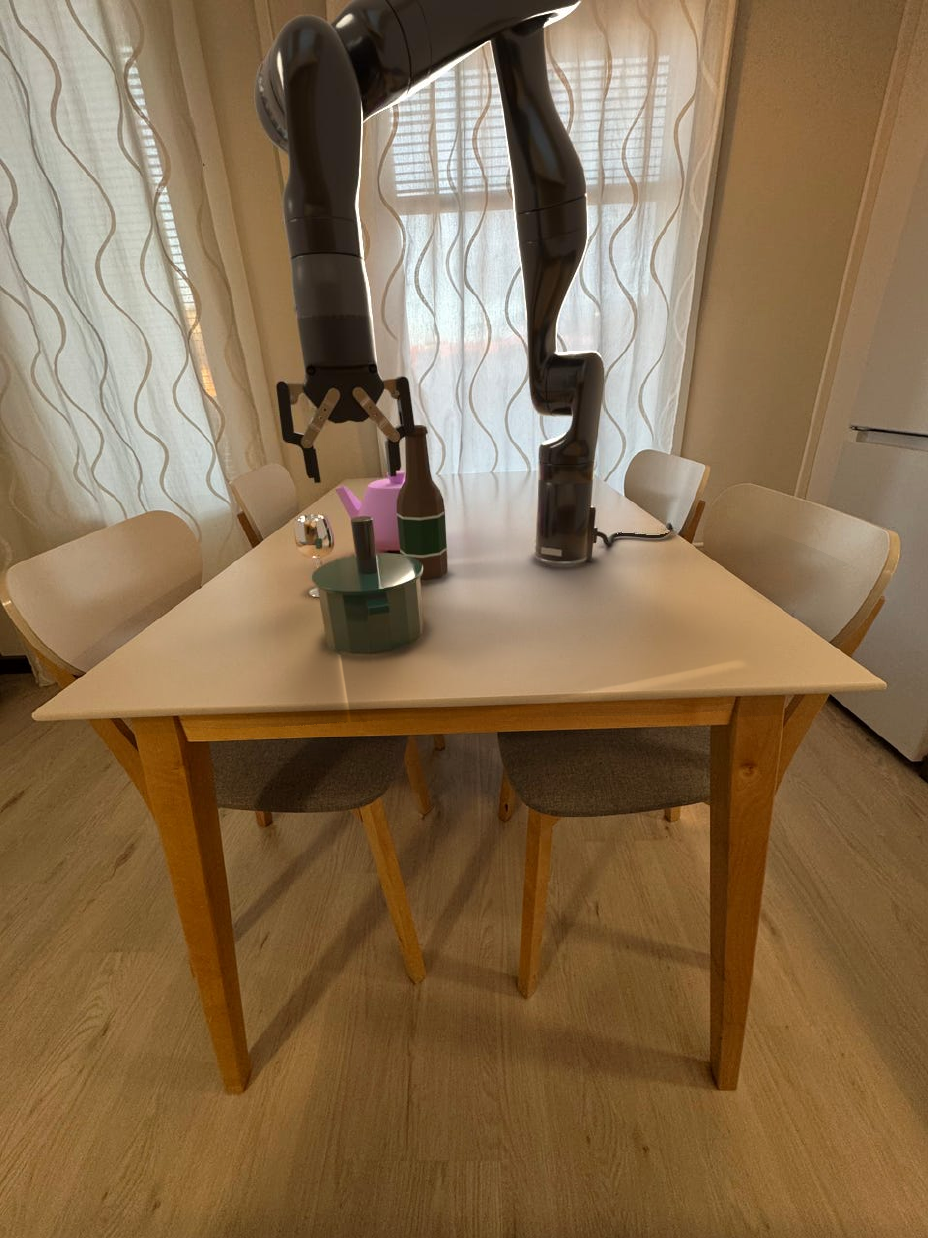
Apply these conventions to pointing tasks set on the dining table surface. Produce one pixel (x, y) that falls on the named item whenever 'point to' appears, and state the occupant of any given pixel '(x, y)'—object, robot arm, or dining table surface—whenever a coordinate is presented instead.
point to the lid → (366, 567)
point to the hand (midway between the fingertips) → (355, 478)
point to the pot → (372, 619)
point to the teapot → (378, 509)
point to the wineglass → (314, 539)
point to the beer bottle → (421, 510)
